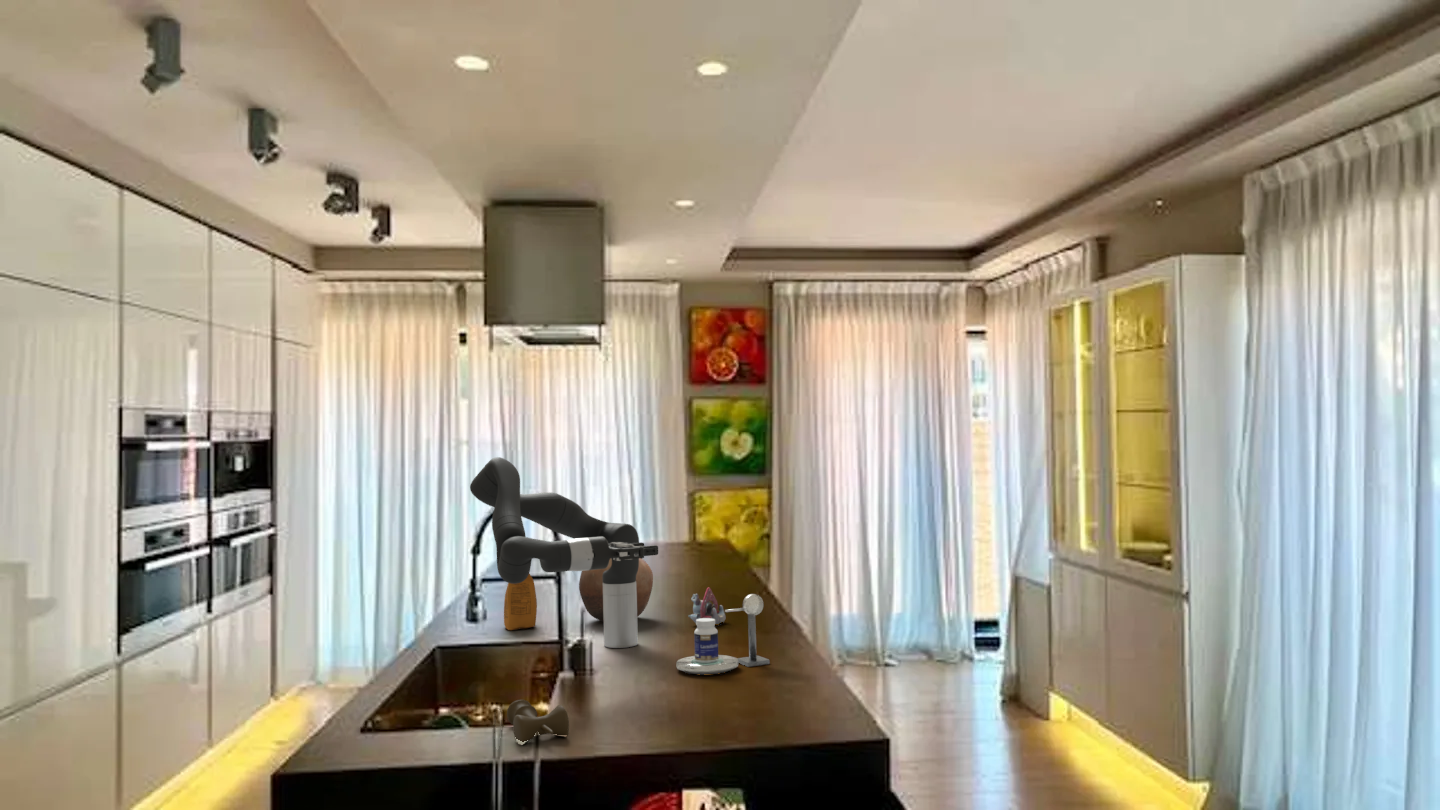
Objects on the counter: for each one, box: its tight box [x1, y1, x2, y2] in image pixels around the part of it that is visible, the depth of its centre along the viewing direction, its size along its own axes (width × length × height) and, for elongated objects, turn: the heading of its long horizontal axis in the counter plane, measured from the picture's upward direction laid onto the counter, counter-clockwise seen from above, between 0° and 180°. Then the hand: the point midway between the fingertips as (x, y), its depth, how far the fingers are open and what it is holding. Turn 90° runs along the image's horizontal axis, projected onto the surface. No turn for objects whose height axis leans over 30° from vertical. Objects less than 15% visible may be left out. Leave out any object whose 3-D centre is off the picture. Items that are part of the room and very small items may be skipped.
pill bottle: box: [693, 618, 719, 663], centre depth 240 cm, size 6×6×10 cm
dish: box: [675, 654, 739, 675], centre depth 240 cm, size 15×15×2 cm
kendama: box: [506, 699, 570, 742], centre depth 190 cm, size 6×10×20 cm
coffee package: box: [503, 573, 538, 631], centre depth 305 cm, size 10×12×22 cm
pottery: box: [578, 558, 654, 622], centre depth 310 cm, size 23×23×25 cm
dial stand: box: [724, 593, 771, 668], centre depth 245 cm, size 6×10×17 cm, turn 117°
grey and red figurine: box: [688, 586, 727, 624], centre depth 301 cm, size 11×11×12 cm
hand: (650, 548), depth 237 cm, fingers open, 8 cm apart
